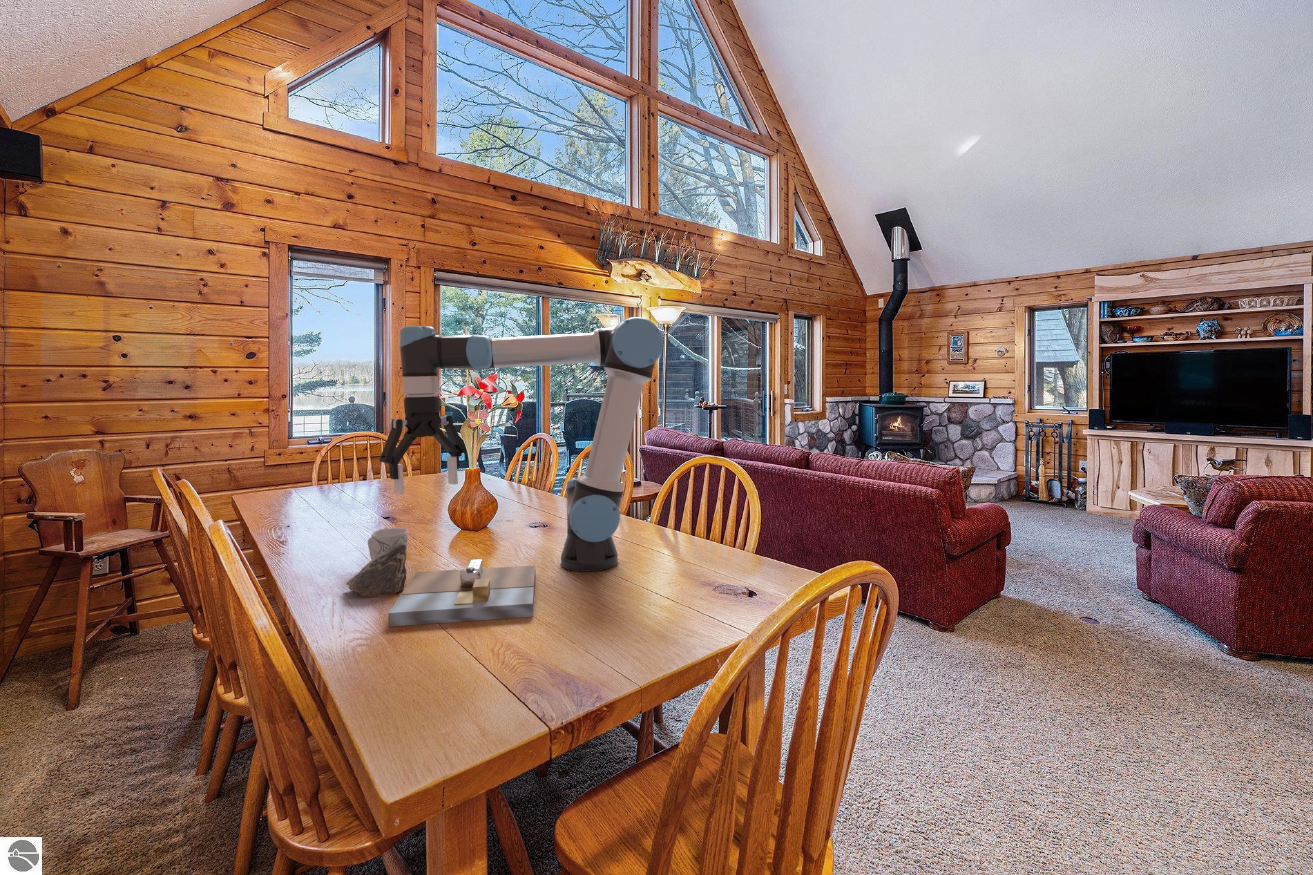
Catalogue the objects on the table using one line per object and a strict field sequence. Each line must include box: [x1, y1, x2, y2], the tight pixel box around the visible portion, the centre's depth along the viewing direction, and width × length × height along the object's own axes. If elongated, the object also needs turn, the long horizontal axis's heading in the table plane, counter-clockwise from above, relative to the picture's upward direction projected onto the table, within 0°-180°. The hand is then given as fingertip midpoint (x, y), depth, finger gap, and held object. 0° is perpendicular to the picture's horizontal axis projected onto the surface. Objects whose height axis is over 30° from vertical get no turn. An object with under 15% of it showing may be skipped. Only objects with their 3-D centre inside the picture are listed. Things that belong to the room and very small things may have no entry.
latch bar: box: [460, 558, 483, 587], centre depth 137 cm, size 14×4×3 cm, turn 10°
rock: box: [346, 536, 408, 598], centre depth 139 cm, size 12×8×15 cm, turn 118°
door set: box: [387, 565, 537, 628], centre depth 132 cm, size 28×26×6 cm
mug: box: [367, 527, 409, 561], centre depth 152 cm, size 11×8×10 cm
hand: (427, 488), depth 135 cm, fingers open, 13 cm apart
